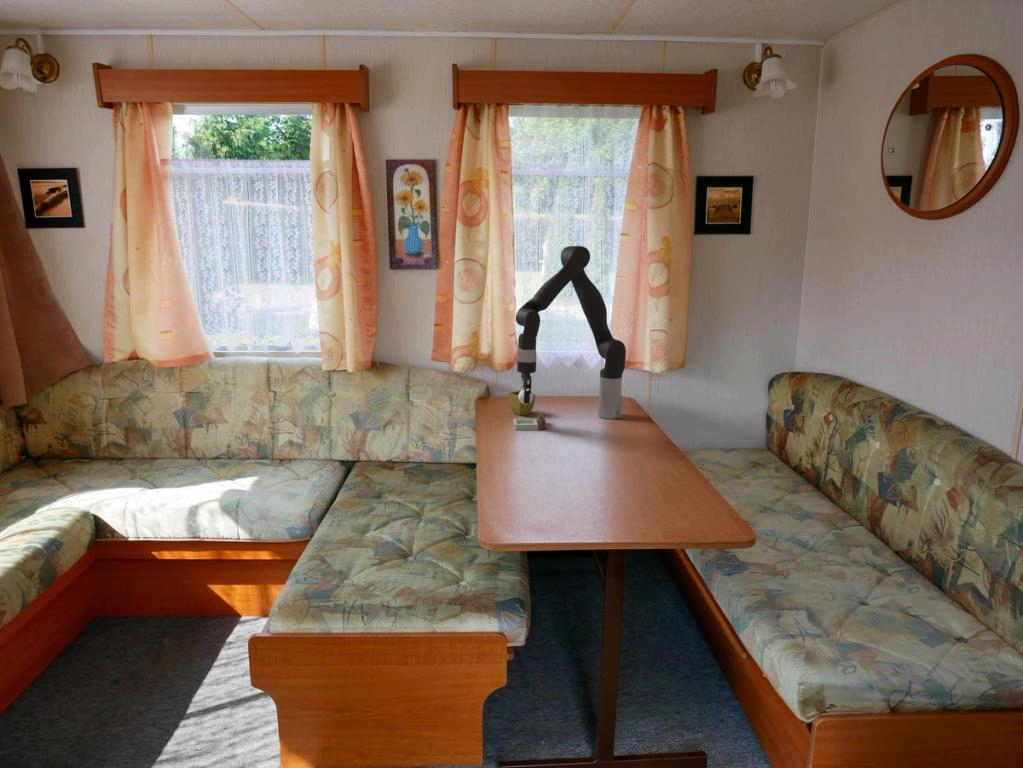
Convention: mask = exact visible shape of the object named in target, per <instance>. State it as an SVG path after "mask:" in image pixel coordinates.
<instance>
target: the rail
mask: <svg viewBox="0 0 1023 768" xmlns="http://www.w3.org/2000/svg"><path fill="white" fill-rule="evenodd" d="M536 421H537V423H538V430H539V431H540V432H541V431H545V432H546V431H548V428H547V426H546V422H547V421H546V419H545V417H544V414H543V413H542V412H537V419H536Z"/></svg>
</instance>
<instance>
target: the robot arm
mask: <svg viewBox="0 0 1023 768" xmlns="http://www.w3.org/2000/svg"><path fill="white" fill-rule="evenodd" d="M590 260H591V252H590V251H589V249H588V248H587V247H585V246H582V245H568V246H566V247H564V248H563V249H562V250H561V252H560V261H561V265H562V267H561V269H560V270H559V271H558V272H557V273H555V274H554V275H553V276H552V277H550V278H549V279H548V280H547V281H546V282H544V283H543V284H542V286H540V288H538V290H537V291H536V293H535V294H534V295H533V297H532V298H530V299H529V300H528V301H527V302H525V303H524V304H523V305H522V306H521V307H519V309H518V310H517V311H516V314H515V321H516V324H517V325H518V326H520V327H521V326H522V327H523V332H522V333H520V334H519V335H518V338H517V339H518V340H517V341H518V342H517V345H518V346H517V354H516V355H517V357H516V358H517V359H516V360H517V361H516V362H517V364H516V372H517V373H521V374H520V380H521V381H520V386H521V387H520V388H521V391H522V390H524V403H525V404H529V403H530V394H531V392H532V381H533V378H532V377H533V376H532V375H531V374H533V373H536V372H537V336H538V335H539V334H538V333H539V329H540V325H541V316H540V312H543V311H545V310H547V309H548V308H549V307H550V305H551V304H552V303H553V301H554V300H555V299H556V297H558V295H559V294H560V293H561V292H562V290H563V289H564V288H565V287H566V286H568V284H569V283H570V282H571V284H572V286H573V289H574V292H575V293H576V296H577V299H578V301H579V304H580V306H581V309H582V312H583V314H584V316H585V319H586V321H587V323H588V325H589V327H590V331H591V333H592V334H593V338H594V342H595V345H596V346H595V347H596V349H597V352H598V355H600V358H602V359H604V360H605V361H604V362H605V363H604V367H603V368H602V369H600V371H599V372H600V373H599V390H598V391H599V393H598V412H597V413H598V415H597V416H598V417H600V418H603V419H607V420H608V419H609V420H615V419H621V418H622V416H623V415H622V412H623V395H622V388H623V387H622V384H623V373H624V371H625V368H626V367H625V366H626V357H627V356H626V355H627V349H626V345H625V343H624V342H623V341H622V340H619V339H615V338H614V337H613V335H612V333H611V330H610V328H609V325H608V310H607V306H606V303H605V301H604V298H603V296H602V295H603V294H601V292H600V290H599V289H598V288H597V287H596V285H595V284H594V283H593V282H592V281H591V279H590V278H589V276H588V275H587V273H586V270H585V268H586V267H587V266H588V265H589V263H590ZM526 389H528V390H529V391H526Z"/></svg>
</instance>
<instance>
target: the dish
mask: <svg viewBox="0 0 1023 768" xmlns="http://www.w3.org/2000/svg"><path fill="white" fill-rule="evenodd" d="M536 420H537V419H536V418H513V420H512V421H513V422H512V424H513V428H514V431H538V430H539V424H538V423H537V421H536Z"/></svg>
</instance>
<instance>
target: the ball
mask: <svg viewBox="0 0 1023 768" xmlns="http://www.w3.org/2000/svg"><path fill="white" fill-rule="evenodd" d="M519 391H520V393H519V395H518V398H519V401H520V402H521V403H522V404H525V403H524V390H522V389H521V390H519ZM526 391H529V389H526ZM533 394H534V392H532V391H531V394H530V403H531V402H532V400H533Z"/></svg>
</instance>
